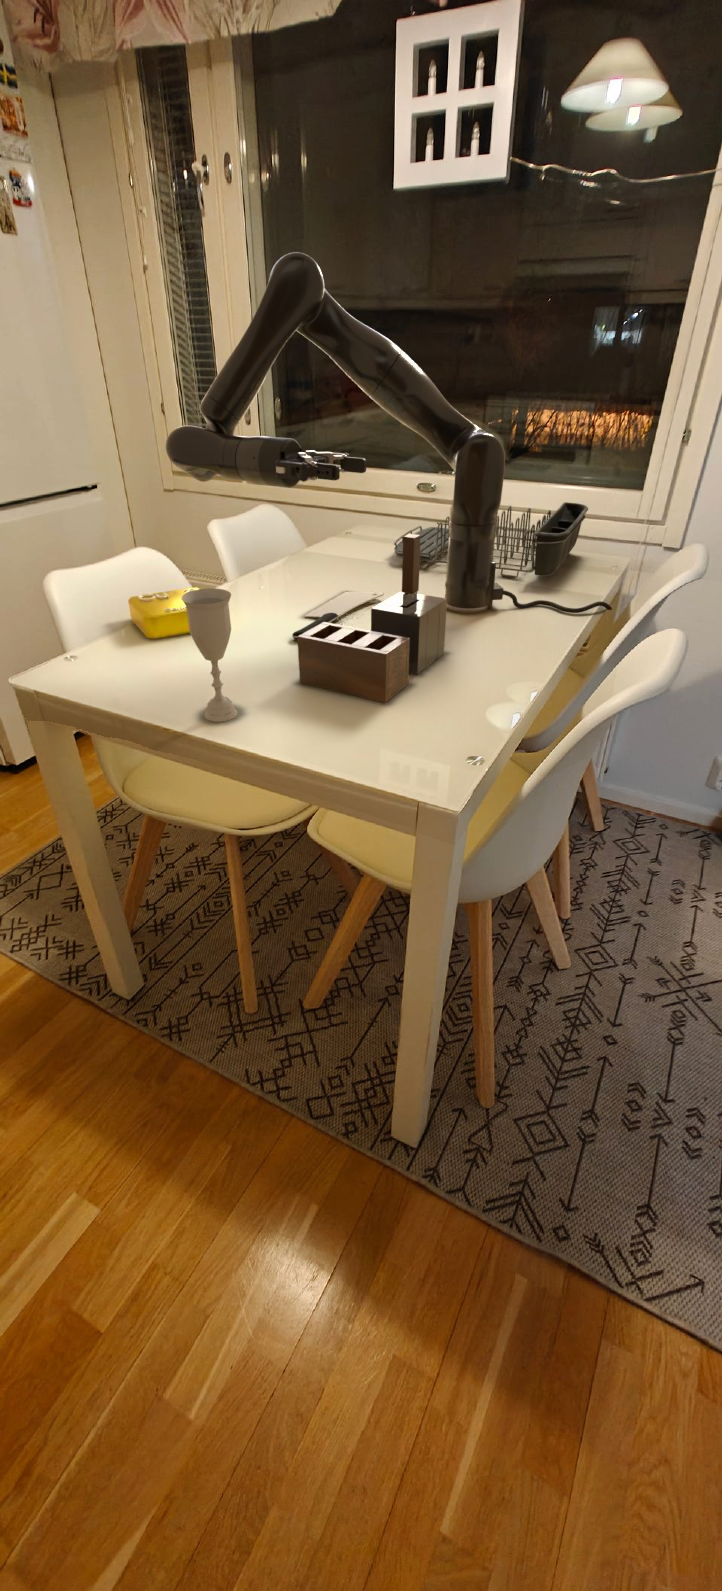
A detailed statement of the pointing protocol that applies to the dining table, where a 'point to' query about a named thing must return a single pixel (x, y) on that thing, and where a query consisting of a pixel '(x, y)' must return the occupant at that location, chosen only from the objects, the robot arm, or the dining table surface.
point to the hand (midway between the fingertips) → (352, 469)
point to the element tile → (160, 613)
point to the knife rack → (354, 661)
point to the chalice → (211, 641)
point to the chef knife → (410, 569)
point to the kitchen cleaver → (337, 608)
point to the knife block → (414, 626)
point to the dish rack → (549, 544)
